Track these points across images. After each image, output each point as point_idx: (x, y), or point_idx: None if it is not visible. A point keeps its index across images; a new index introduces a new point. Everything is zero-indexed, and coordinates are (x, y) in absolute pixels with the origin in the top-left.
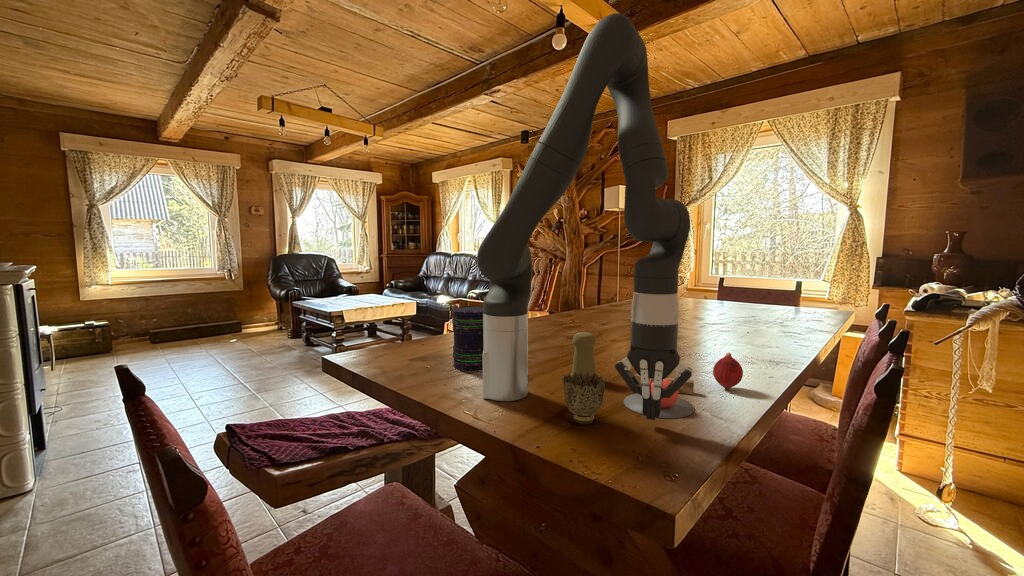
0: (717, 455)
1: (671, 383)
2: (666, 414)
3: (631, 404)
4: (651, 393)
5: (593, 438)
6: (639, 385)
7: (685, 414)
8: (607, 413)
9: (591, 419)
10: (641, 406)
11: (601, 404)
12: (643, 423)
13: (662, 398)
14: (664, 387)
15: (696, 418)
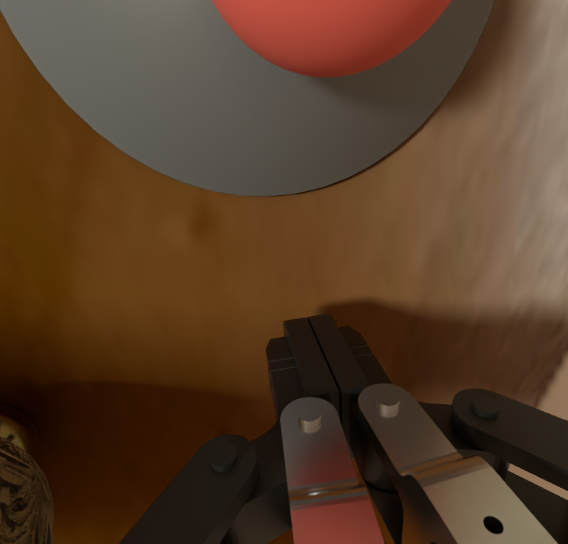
0: (527, 400)
1: (550, 478)
2: (348, 127)
3: (87, 54)
4: (247, 40)
5: (129, 518)
6: (260, 521)
7: (454, 62)
8: (29, 280)
9: (37, 461)
10: (168, 58)
11: (46, 510)
12: (256, 300)
13: (343, 75)
14: (390, 15)
15: (505, 77)
